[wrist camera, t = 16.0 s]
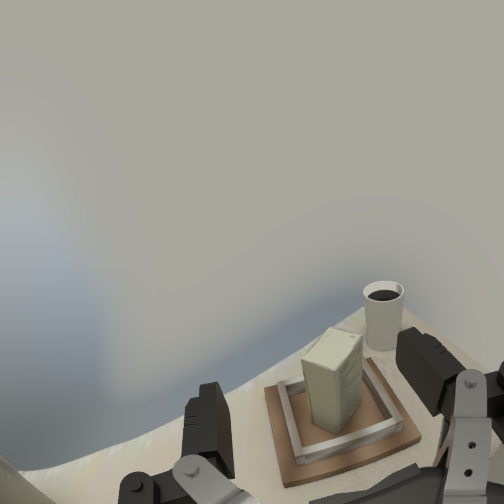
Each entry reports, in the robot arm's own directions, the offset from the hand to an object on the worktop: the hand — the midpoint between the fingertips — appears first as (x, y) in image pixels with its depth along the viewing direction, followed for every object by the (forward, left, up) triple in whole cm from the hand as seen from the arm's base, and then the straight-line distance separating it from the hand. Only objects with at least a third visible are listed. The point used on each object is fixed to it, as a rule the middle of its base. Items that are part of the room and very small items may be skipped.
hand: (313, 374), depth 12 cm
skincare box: (+5, +15, -24) cm, 28 cm away
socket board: (+5, +15, -25) cm, 30 cm away
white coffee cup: (+18, +28, -25) cm, 42 cm away
